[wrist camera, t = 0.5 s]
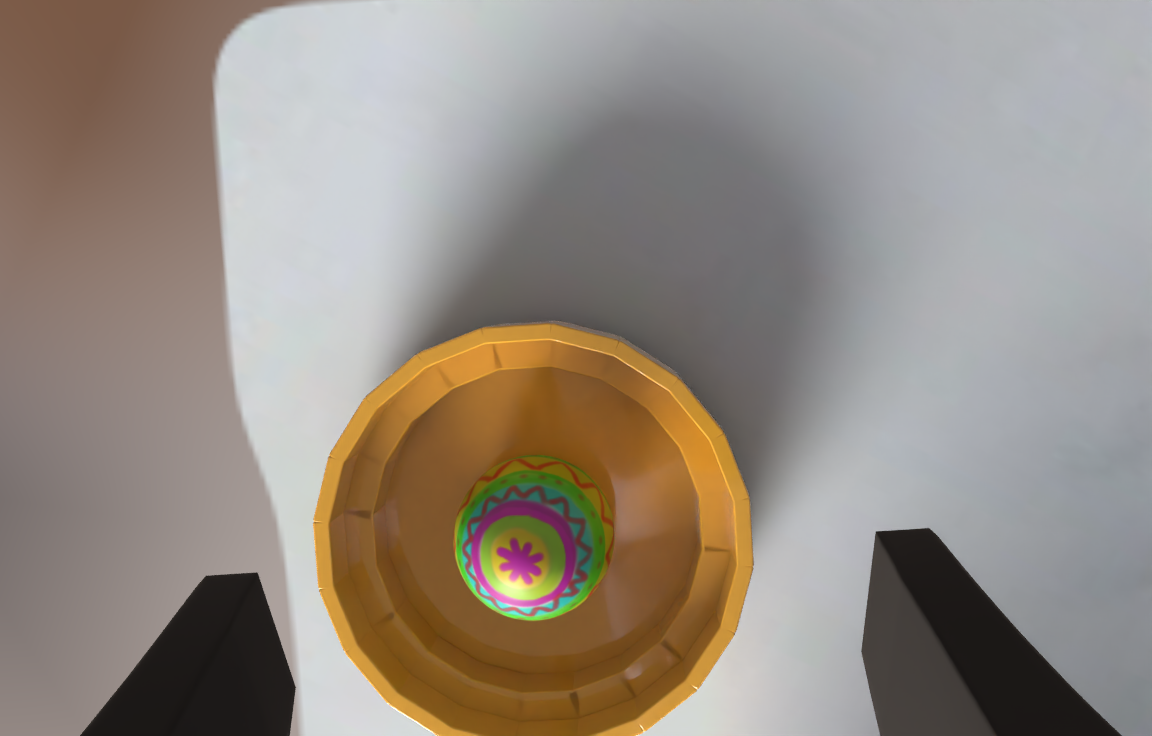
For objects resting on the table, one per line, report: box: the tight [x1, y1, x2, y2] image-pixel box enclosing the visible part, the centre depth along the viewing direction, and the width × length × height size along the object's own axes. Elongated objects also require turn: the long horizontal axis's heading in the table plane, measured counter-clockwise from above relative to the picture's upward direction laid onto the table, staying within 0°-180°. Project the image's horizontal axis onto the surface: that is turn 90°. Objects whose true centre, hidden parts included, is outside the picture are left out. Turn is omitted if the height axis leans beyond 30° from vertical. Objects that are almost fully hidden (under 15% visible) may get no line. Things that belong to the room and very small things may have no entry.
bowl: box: [313, 321, 754, 736], centre depth 34 cm, size 13×13×4 cm
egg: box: [454, 455, 615, 621], centre depth 33 cm, size 5×5×6 cm
